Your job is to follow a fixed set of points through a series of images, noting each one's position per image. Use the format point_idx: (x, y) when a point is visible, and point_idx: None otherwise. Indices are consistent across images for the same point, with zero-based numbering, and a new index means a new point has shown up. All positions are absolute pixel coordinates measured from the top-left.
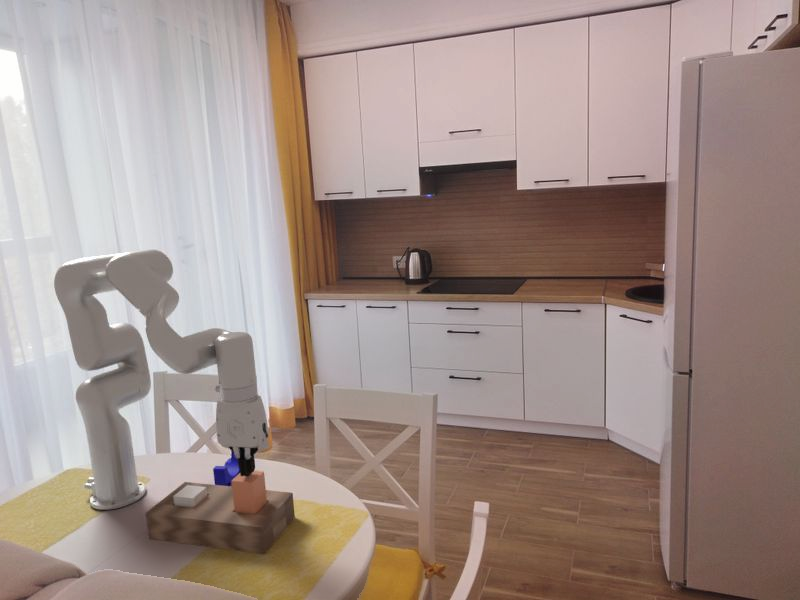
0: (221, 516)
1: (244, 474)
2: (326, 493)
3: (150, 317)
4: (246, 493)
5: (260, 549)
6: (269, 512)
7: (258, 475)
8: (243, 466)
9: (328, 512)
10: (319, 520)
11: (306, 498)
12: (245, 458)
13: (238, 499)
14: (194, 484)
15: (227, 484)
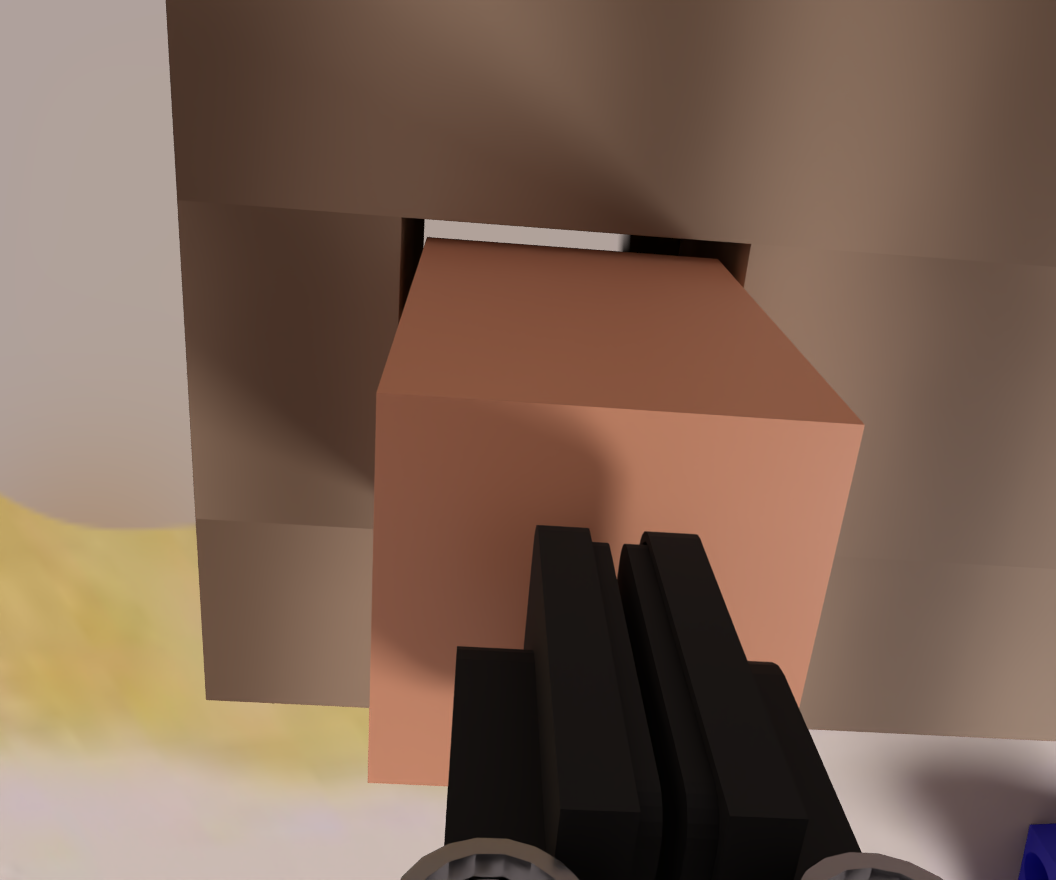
0: (848, 118)
1: (604, 549)
2: (177, 874)
3: None
4: (533, 328)
5: None
6: (256, 287)
7: (401, 660)
8: (632, 667)
9: (14, 646)
10: (26, 531)
11: (307, 800)
12: (593, 876)
13: (678, 308)
14: None
15: (1048, 877)
